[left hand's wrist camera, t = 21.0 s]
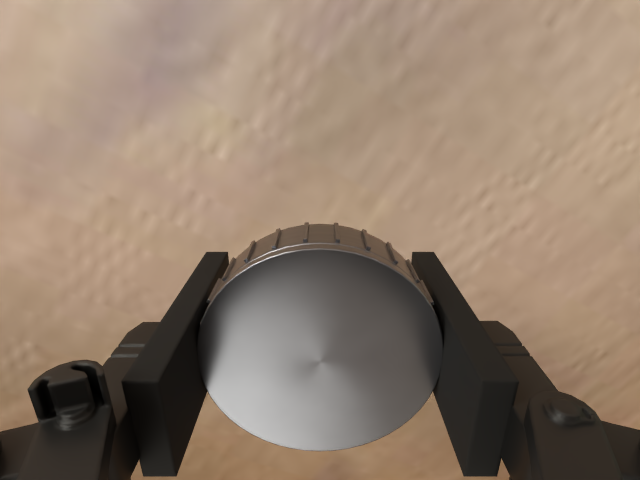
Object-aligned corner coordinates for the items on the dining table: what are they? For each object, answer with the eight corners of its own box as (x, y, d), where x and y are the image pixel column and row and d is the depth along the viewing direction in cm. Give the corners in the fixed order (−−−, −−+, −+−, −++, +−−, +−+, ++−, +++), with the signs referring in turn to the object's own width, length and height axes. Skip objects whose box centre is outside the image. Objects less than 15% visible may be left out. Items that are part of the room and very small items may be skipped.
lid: (453, 236, 11) (477, 263, 10) (403, 416, 14) (415, 463, 12) (214, 206, 11) (195, 228, 9) (207, 397, 13) (192, 442, 12)
